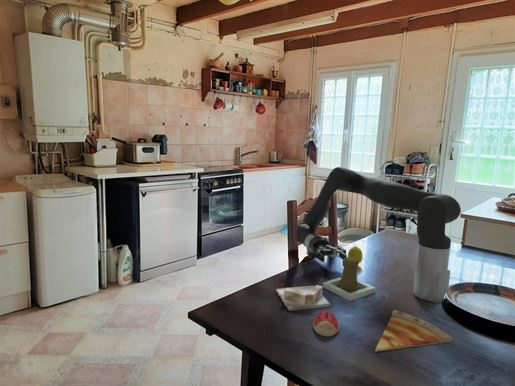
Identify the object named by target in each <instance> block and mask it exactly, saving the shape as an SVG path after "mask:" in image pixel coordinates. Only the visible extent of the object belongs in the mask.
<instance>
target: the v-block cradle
mask: <svg viewBox="0 0 515 386" xmlns="http://www.w3.org/2000/svg"><path fill="white" fill-rule="evenodd" d="M323 289H324V287H323V285H318V284H316V285H315V286H314V285H307V286H306V285H305V286H294V287H293V286H292V287H282V288H276V290H275V292H276V294H277V293H278V294H277V295H278V297H279V296H280V297H279V298H280V300H281V299H282V300H281V301H282V302H284V303H283V304H284V306H285V307H286V308H287V310H288V311H289V312H290V311H291V312H292V311H301V310H309V309H310V310H312V309H319V308H320V309H321V308H329V307H331V303H330V301H328V299H326V298H325V296H324V295H323Z"/></svg>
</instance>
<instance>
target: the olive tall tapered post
mask: <svg viewBox="0 0 515 386" xmlns="http://www.w3.org/2000/svg"><path fill="white" fill-rule="evenodd" d="M341 264H342V267H343V269H342V274H341V277H342V278H341V283H340V284H339V288H340V289H342V290H344V291H346V292H349V293H352V292H355V291H358V290H359V287H358V285H357V280H358V272H357V271H358V270H357V269H358V267H359V264H360V263H358V260H357V259H355V258H352V257H348V256H347V257H346V258H344V259H343V260H342V263H341Z"/></svg>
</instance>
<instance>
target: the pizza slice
mask: <svg viewBox="0 0 515 386" xmlns="http://www.w3.org/2000/svg"><path fill="white" fill-rule="evenodd" d="M443 342H444V343H450V342H453V337H452V335H450V334H449V333H447V332H445V331H444V330H442V329H441V328H440V327H437V326H435V325H434V324H432V323H429V322H428V321H426V320H424V319H422V318H419V317H416V316H414V315H412V314H409V313H405V312H402V311H400V310H395V309H392V313H391V317H390V319H389V321H388V322H387V324H386V327H385V329H384V331H383V332H382V334H381V337H380V339H379V341H378V343H377V345H376V347H375V349H374V352H382V351H390V350H392V351H393V350H397V349H398V350H400V349H405V348H414V347H419V346H427V345H435V344H436V345H437V344H441V343H443Z"/></svg>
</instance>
